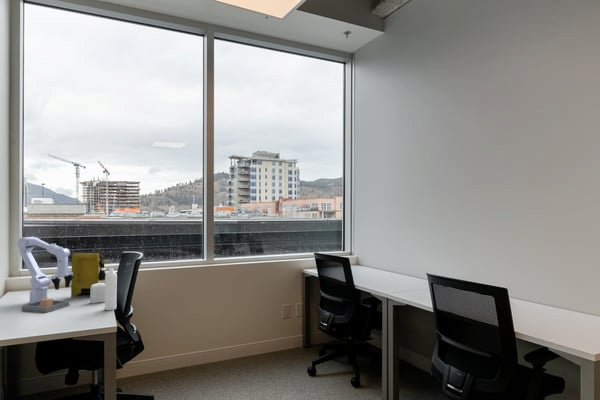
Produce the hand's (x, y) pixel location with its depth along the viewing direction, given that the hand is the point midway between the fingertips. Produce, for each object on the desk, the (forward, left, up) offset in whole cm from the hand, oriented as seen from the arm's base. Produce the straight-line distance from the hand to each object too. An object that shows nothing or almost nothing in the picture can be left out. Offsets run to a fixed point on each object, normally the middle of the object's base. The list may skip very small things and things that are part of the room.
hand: (62, 288), depth 241 cm
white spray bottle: (+41, -6, -10) cm, 42 cm away
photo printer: (+22, +7, -10) cm, 25 cm away
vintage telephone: (0, +24, -10) cm, 26 cm away
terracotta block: (+3, -14, -9) cm, 16 cm away
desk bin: (+2, -14, -9) cm, 17 cm away
